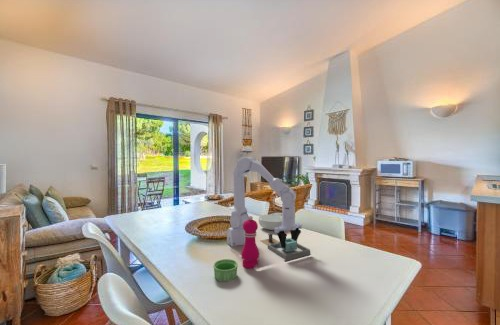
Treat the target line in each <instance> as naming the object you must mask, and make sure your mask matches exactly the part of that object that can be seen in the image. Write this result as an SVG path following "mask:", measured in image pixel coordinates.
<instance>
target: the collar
mask: <svg viewBox="0 0 500 325" xmlns="http://www.w3.org/2000/svg"><path fill="white" fill-rule="evenodd" d="M297 243H298V240H297V241H295V240H293V239H291V237H286V243H285V248H282V247H281V243H280V247H279V248H280V249H282V250H283V251H285V252H292V251H296V250H298V248H297Z"/></svg>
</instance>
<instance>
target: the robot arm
mask: <svg viewBox="0 0 500 325" xmlns="http://www.w3.org/2000/svg"><path fill="white" fill-rule="evenodd" d="M250 171H251V172H256V173H258V174H259V175H260V176H261V177H262V178H263V179H264V180H266V181H267V182H268V183H269V188H271V190H272V191H273V192H275V194H277V196H278V197H280V201H281V203H282V207H281V209H282V210H281V212H282V213H281V216H282V225H281V226H279V227H276V228H274V230H273V232H274V233H275V234H276V235H277V237H278V241H279V242H280V243H281V247H282V248H285V243H286V238H288V237H287V236H288V234H287V233H286V232H288V231H289V232H290V236H291V237H290V238H291V239H293V240H295V241H297V242H298V238H299V236H300V235H301V233H302V230H301V229H303V224H301V223H296V199H297V194H296V191H295V190H294V189H291V187H289V186H287V185H286V184H285V183H284V182H283V181H284V180H283V179H282V178H280V177H274V175H272V174H271V173H270V172H269V170H267V168H266V167H265V166H264V165H263V164H262V163H261V161H259V160H257V158H256V157H254V156H242V157H240V158H239V159H238V160H237V161H236V165H235V168H234V170H233V173H232V174H233V176H232V177H233V209H232V210H231V214H230V215H231V216H230V218H229V223H230V226H231V227H228V228H227V230H226V242H227V243H226V244H227V245H228V246H230V248H232V247H236V246H244V245H245V236H244V232H245V231H244V229H243V223H244V222H245V221H246V220H249V219H248V217H249V216H250V215H249V214H248V209H247V207H246V201H245V200H246V197H245V192H246V191H245V176H246V175H247V174H248V173H249V172H250ZM282 248H281V249H282Z"/></svg>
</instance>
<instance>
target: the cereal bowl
mask: <svg viewBox="0 0 500 325" xmlns="http://www.w3.org/2000/svg"><path fill="white" fill-rule="evenodd" d="M258 225H259V227H261V228H263V229H265V230H268V231H274V228H276V227H279V226H281V225H282V215H279V214H263V215H259V216H258Z"/></svg>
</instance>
